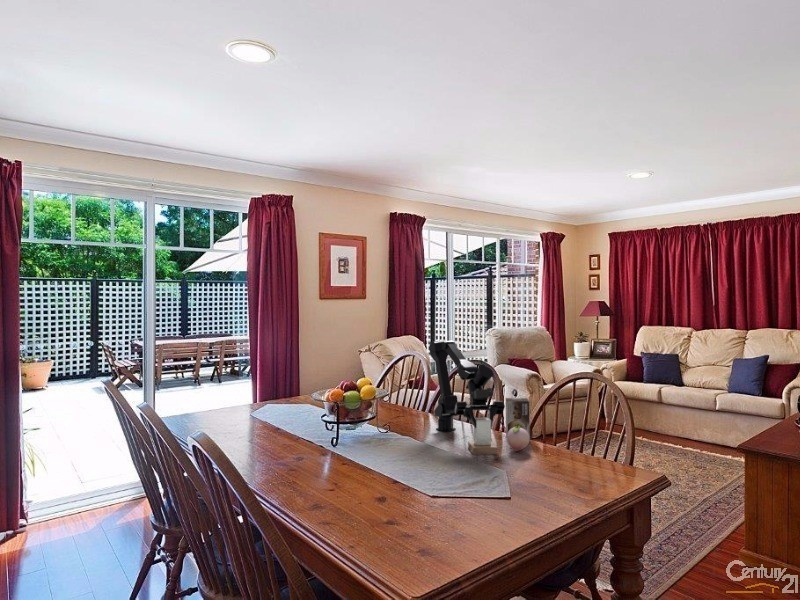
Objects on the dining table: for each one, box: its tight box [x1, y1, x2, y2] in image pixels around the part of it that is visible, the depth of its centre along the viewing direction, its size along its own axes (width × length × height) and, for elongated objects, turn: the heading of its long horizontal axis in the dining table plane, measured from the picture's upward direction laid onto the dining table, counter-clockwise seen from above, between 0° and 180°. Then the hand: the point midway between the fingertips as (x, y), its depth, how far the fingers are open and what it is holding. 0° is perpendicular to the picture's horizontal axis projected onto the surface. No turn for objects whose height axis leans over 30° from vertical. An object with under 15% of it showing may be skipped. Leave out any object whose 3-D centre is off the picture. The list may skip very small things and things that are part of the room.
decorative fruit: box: [506, 425, 530, 452], centre depth 193 cm, size 9×8×10 cm
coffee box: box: [505, 397, 531, 441], centre depth 211 cm, size 9×6×16 cm
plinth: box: [467, 440, 498, 456], centre depth 193 cm, size 9×9×2 cm
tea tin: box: [473, 416, 492, 446], centre depth 193 cm, size 4×6×10 cm
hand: (483, 427), depth 192 cm, fingers closed on tea tin, 5 cm apart
